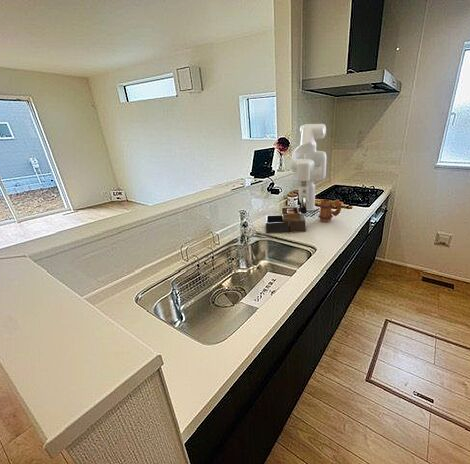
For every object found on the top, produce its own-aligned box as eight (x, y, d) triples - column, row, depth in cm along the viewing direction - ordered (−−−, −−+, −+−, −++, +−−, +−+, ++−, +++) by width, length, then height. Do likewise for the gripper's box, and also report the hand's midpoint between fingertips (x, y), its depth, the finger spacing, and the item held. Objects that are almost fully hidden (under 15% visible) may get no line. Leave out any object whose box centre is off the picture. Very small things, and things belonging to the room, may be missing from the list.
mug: (317, 222, 166) (318, 200, 160) (318, 218, 173) (319, 197, 167) (340, 224, 162) (341, 201, 156) (340, 219, 170) (342, 198, 164)
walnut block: (286, 214, 160) (286, 208, 158) (293, 214, 160) (293, 208, 158) (287, 216, 156) (287, 210, 155) (293, 216, 156) (293, 210, 155)
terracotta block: (287, 217, 154) (287, 211, 153) (294, 217, 154) (294, 211, 153) (287, 219, 151) (287, 213, 149) (294, 219, 151) (294, 213, 149)
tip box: (282, 214, 162) (281, 204, 159) (302, 213, 162) (303, 203, 159) (283, 221, 149) (282, 210, 147) (305, 221, 150) (305, 210, 147)
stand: (288, 224, 164) (288, 214, 161) (303, 224, 164) (303, 214, 161) (289, 231, 153) (289, 221, 150) (305, 231, 153) (305, 220, 150)
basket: (266, 225, 164) (266, 215, 162) (287, 224, 165) (287, 214, 162) (266, 233, 152) (265, 223, 149) (288, 232, 152) (288, 222, 149)
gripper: (311, 186, 139) (310, 215, 146) (307, 179, 155) (307, 207, 162) (298, 186, 139) (298, 216, 146) (295, 180, 155) (295, 207, 162)
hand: (302, 211), depth 154 cm, fingers open, 7 cm apart
